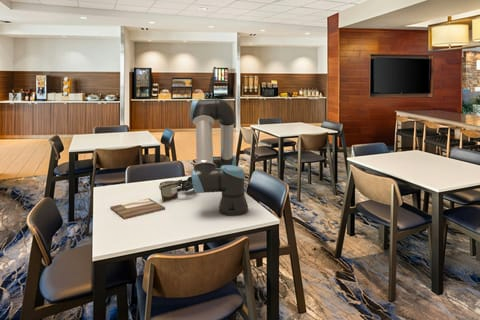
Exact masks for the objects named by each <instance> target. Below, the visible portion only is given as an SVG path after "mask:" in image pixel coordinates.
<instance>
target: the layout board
mask: <svg viewBox="0 0 480 320" xmlns="http://www.w3.org/2000/svg"><path fill="white" fill-rule="evenodd" d="M109 209H110V210H111V211H113V212H114V213H115V214H117V215H118V216H119V217H120V218H122V219H123V220H127V219H131V218H136V217H140V216H144V215H148V214H151V213H152V214H153V213H155V212H159V211H160V212H161V211H164V210H166V206H164V205H162V204H160V203H158V202H157V201H155V200H153V199H151V198H144V199H140V200H134V201H131V202H126V203H121V204H118V205H112V206H110V207H109Z"/></svg>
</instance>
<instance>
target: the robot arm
mask: <svg viewBox="0 0 480 320" xmlns="http://www.w3.org/2000/svg"><path fill="white" fill-rule="evenodd" d="M190 105H191V106H190V114H189V117H190V121H191V122H192V123H193V124H194V126H195V141H196V142H195V143H196V144H195V145H196V146H195V148H196V150H195V151H196V153H195V154H196V163H195V164H194V165H193V169H191V170H190V175H191V176H189V177H187V179H184V180H183V179H179V180H177V181H178V182H179V185H178V187H176V188H173V189H171V194H173V193H177V192H178V193H180V192H188V191H190V190H193V192H195V193H198V194H199V193H201V194H202V193H203V194H204V193H205V194H206V193H221V198H220V202H219V205H218V212H219V214H221V215H224V216H241V215H244V214H247V213H248V212H249V205H248V203H247V202H248V201H247V199H246V196H245V178H246V177H245V170H244V169H243V168H242V167H241V166H237V159H236V156H234V125H235V124H236V120H237V119H236V114H235V111H234V108H233V107H232V105H231V104H230V103H229V102H227V101H226V100H225V99H222V98H210V99H208V98H207V99H206V98H205V99H201V98H199V99H194V100H192V101H191V104H190ZM215 121H218V123H219V124H220V156H214V149H213V148H214V146H213V125H214V124H215Z"/></svg>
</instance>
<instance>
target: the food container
mask: <svg viewBox="0 0 480 320" xmlns="http://www.w3.org/2000/svg"><path fill="white" fill-rule="evenodd" d="M178 185H179V182H178V180H166V181H162V182H160V183H159V185H158V189H159V191H160V196H161V201H162V203H166V202H170V201H174V200H177V199H178V198H179V192H177V193H173V194H171V189H173V188H176V187H179V186H178Z"/></svg>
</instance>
